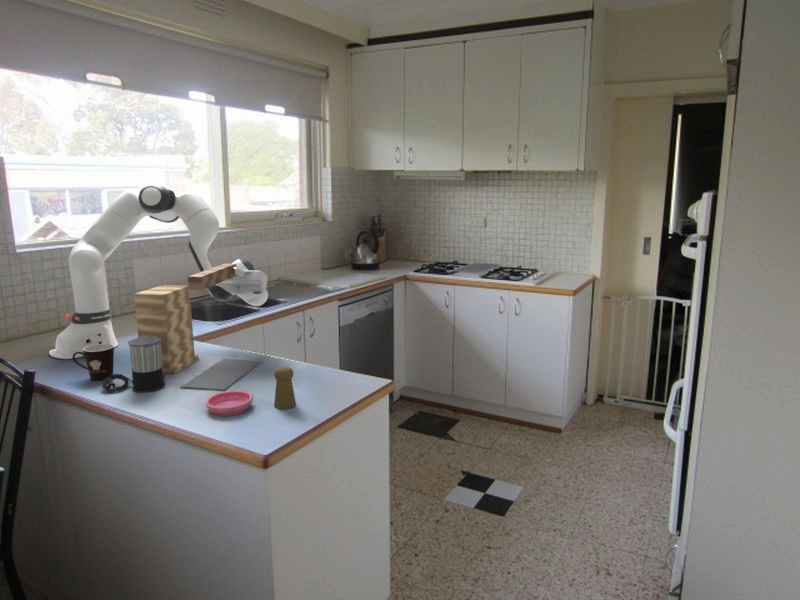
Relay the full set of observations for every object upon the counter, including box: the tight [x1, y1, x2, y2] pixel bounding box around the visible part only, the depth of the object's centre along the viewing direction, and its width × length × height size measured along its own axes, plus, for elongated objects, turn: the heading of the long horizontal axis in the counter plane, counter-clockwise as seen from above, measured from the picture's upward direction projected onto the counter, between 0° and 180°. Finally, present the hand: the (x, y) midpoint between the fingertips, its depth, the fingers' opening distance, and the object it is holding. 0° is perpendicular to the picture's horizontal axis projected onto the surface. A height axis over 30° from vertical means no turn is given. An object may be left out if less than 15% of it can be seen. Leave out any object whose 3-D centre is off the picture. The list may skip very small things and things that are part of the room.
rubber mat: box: [180, 358, 262, 392], centre depth 184 cm, size 28×14×1 cm, turn 171°
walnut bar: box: [187, 263, 237, 291], centre depth 178 cm, size 24×4×4 cm, turn 171°
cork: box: [273, 366, 297, 410], centre depth 157 cm, size 6×6×11 cm
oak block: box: [133, 284, 200, 375], centre depth 190 cm, size 16×13×26 cm
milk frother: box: [101, 336, 166, 393], centre depth 170 cm, size 14×16×15 cm
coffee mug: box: [72, 344, 115, 382], centre depth 180 cm, size 12×9×10 cm
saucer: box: [205, 390, 254, 417], centre depth 156 cm, size 12×12×3 cm
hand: (226, 269), depth 186 cm, fingers closed on walnut bar, 4 cm apart
